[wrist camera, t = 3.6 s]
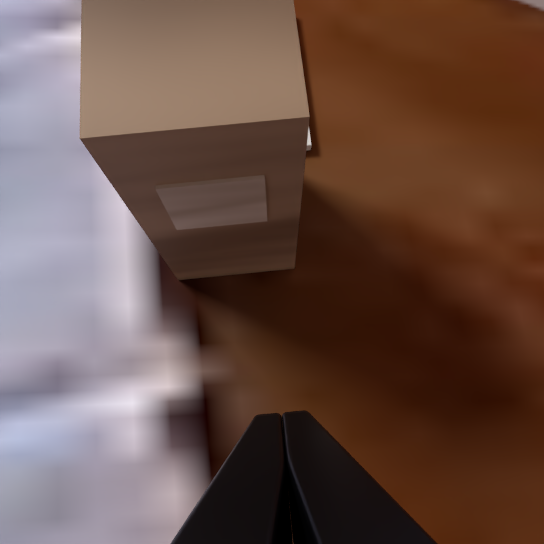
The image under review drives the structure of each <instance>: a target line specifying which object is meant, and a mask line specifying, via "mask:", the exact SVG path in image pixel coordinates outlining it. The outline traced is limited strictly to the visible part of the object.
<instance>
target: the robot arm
mask: <svg viewBox="0 0 544 544" xmlns="http://www.w3.org/2000/svg"><path fill="white" fill-rule="evenodd" d="M282 424H283V427H282ZM283 436H284V437H283ZM288 492H289V493H288ZM289 503H290V504H289ZM290 514H291V516H290ZM291 525H292V528H291ZM292 535H293V541H292ZM171 544H437V543H436V542H435V541H434V540H433V539H432V538H431V537H430V536H429V535H428V534H427V533H426V532H425V531H424V530H423V528H422V527H421V526H420V525H419V524H418V523H417V522H416V521H415V520H414V519H413V518H412V517H411V516H410V515H409V514H408V513H407V512H406V511H405V510H404V509H403V508H402V507H401V506H400V505H399V504H398V503H397V502H396V501H395V500H394V499H393V498H392V497H391V496H390V495H389V494H388V493H387V492H386V491H385V490H384V489H383V488H382V487H381V486H380V485H379V484H378V483H377V482H376V480H375V479H374V478H373V477H372V476H371V475H370V474H369V473H368V472H367V471H366V470H365V469H364V468H363V467H362V466H361V465H360V464H359V463H358V462H357V461H356V460H355V459H354V458H353V457H352V456H351V455H350V454H349V453H348V452H347V451H346V450H345V449H344V448H343V447H342V446H341V445H340V444H339V443H338V442H337V441H336V440H335V439H334V438H333V437H332V436H331V435H330V434H329V432H328V431H327V430H326V429H325V428H324V427H323V426H322V425H321V424H320V423H319V422H318V421H317V420H316V419H315V418H314V417H313V416H312V415H311V414H310V413H309V412H307V411H293V412H285V413H284V414H283V415H282V417H281V415H280V414H278V413H271V414H260V415H256V416H255V417H254V419H253V420H252V422H251V423H250V425H249V426H248V428H247V429H246V431H245V432H244V434H243V435H242V437H241V438H240V440H239V441H238V443H237V444H236V446H235V447H234V449H233V450H232V452H231V453H230V455H229V456H228V458H227V459H226V461H225V462H224V464H223V465H222V467H221V468H220V470H219V471H218V473H217V474H216V476H215V477H214V479H213V480H212V482H211V483H210V485H209V486H208V488H207V489H206V491H205V492H204V494H203V495H202V497H201V498H200V500H199V502H198V503H197V505H196V506H195V508H194V509H193V511H192V512H191V514H190V515H189V517H188V518H187V520H186V521H185V523H184V524H183V526H182V527H181V529H180V530H179V532H178V533H177V535H176V536H175V538H174V539H173V541H172V542H171Z"/></svg>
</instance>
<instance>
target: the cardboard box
mask: <svg viewBox="0 0 544 544" xmlns="http://www.w3.org/2000/svg"><path fill="white" fill-rule="evenodd" d="M309 118H310V115H309V108H308V101H307V94H306V87H305V80H304V73H303V66H302V59H301V51H300V44H299V37H298V30H297V23H296V16H295V9H294V2H293V0H82V14H81V84H80V140H81V141H82V142H83V144H84V145H85V147H86V148H87V150H88V151H89V152H90V154H91V155H92V157H93V158H94V160H95V161H96V163H97V164H98V165H99V167H100V168H101V170H102V171H103V173H104V174H105V175H106V177H107V178H108V180H109V181H110V183H111V184H112V186H113V187H114V188H115V190H116V191H117V193H118V194H119V196H120V197H121V198H122V200H123V201H124V203H125V204H126V206H127V207H128V209H129V210H130V211H131V213H132V214H133V216H134V217H135V219H136V220H137V221H138V223H139V224H140V226H141V227H142V229H143V230H144V231H145V233H146V234H147V236H148V237H149V239H150V240H151V242H152V243H153V244H154V246H155V247H156V249H157V250H158V252H159V253H160V254H161V256H162V257H163V259H164V260H165V262H166V263H167V265H168V266H169V267H170V269H171V270H172V272H173V273H174V275H175V276H176V277H177V279H178V280H185V279H195V278H205V277H215V276H226V275H236V274H246V273H256V272H266V271H276V270H286V269H295V259H296V249H297V239H298V229H299V219H300V209H301V199H302V189H303V179H304V169H305V159H306V149H307V139H308V129H309Z"/></svg>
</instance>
